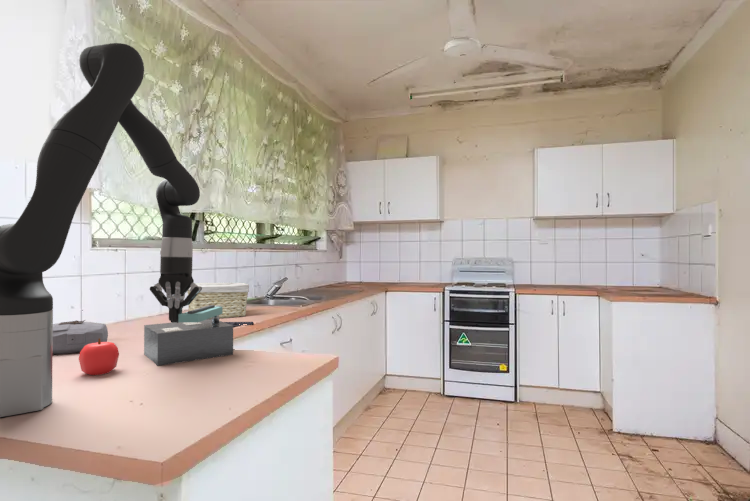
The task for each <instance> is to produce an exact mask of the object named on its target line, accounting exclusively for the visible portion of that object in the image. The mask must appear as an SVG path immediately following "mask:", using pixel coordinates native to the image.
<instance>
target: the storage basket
mask: <svg viewBox="0 0 750 501" xmlns="http://www.w3.org/2000/svg"><path fill="white" fill-rule="evenodd" d="M194 283H195V282H194ZM195 284H196V285H197V286H201V287H202V290H201V291H200V292H199V293H198V295H197V296H196V297H195V298H194V299H193V301H192V302H191V303H190V304H189V305H187V306H188V311H191V310H195V309H198V308H202V307H205V306H209V305H215V306H221V307H222V314H220V315H219V319H220V318H222V319H228V318H229V317H230V318H239V316H241V317H246V314H247V304H248V303H247V302H248V297H249V296H248V295H249V292H250V285H249V283H243V282H198V283H197V282H196V283H195ZM190 288H191V287H190ZM190 288H189V289H188V291H187V292H186V293H187V296H188V295H189V293H190ZM230 318H229V319H230ZM209 319H212V318H209Z"/></svg>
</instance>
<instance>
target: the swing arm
mask: <svg viewBox="0 0 750 501" xmlns="http://www.w3.org/2000/svg"><path fill="white" fill-rule="evenodd" d="M220 314H222V307H221V306H215V305H209V306H205V307H202V308H198V309H195V310H191V311H189V310H188V311H186V312H182V314H178V322H201V321H203V320H206V319H209V318H212V317H215V316H217V315H220Z"/></svg>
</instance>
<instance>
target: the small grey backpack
mask: <svg viewBox="0 0 750 501" xmlns="http://www.w3.org/2000/svg"><path fill="white" fill-rule="evenodd" d="M108 336H109V331H108V327H107V325H106V323H100V322H93V321H86V319H84V320H74V321H73V320H72V321H62V322H58V323H53V353H52V355H60V354H61V355H63V354H73V353H80V352H81V350H82V349H83V348H84V346H85V345H88V344H91V343H97V342H98V339H99V338H100V340H101V342H108V339H109V337H108Z"/></svg>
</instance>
